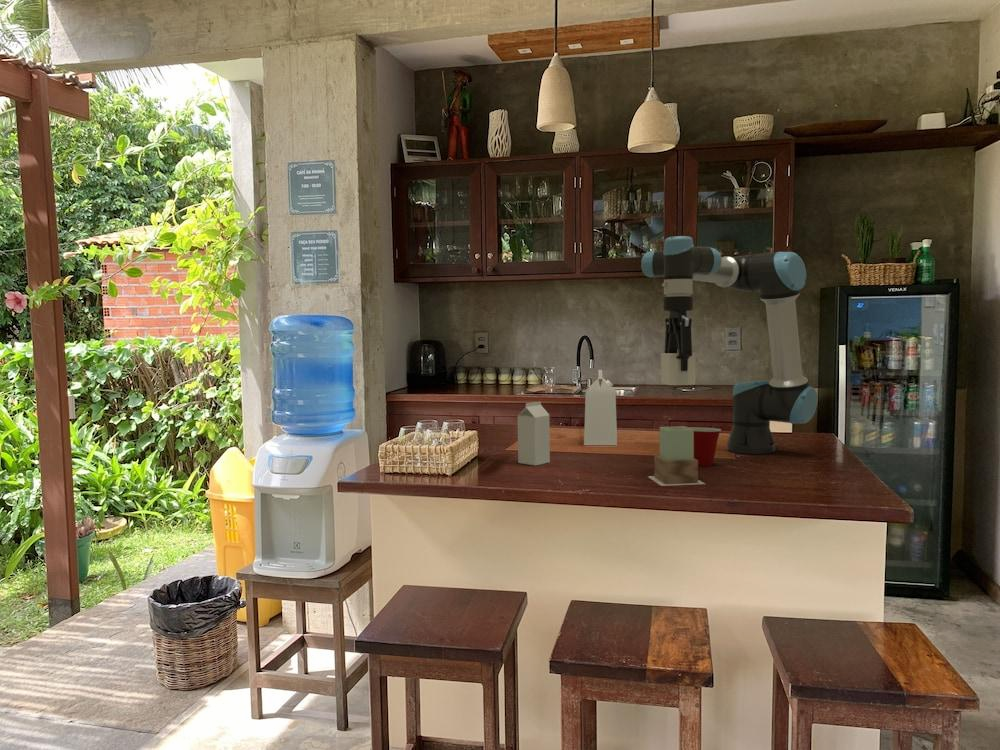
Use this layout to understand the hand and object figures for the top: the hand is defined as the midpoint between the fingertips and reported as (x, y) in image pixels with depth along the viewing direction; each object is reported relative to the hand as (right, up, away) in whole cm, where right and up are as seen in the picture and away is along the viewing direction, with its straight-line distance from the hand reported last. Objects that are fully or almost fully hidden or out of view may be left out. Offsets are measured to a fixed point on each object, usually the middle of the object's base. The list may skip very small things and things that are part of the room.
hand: (677, 382), depth 204 cm
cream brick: (0, 0, 0) cm, 0 cm away
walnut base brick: (0, -26, +2) cm, 26 cm away
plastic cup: (+13, -26, +23) cm, 37 cm away
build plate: (0, -27, +2) cm, 27 cm away
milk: (-11, -23, +69) cm, 74 cm away
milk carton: (-37, -26, +34) cm, 56 cm away
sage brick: (0, -20, +2) cm, 20 cm away
